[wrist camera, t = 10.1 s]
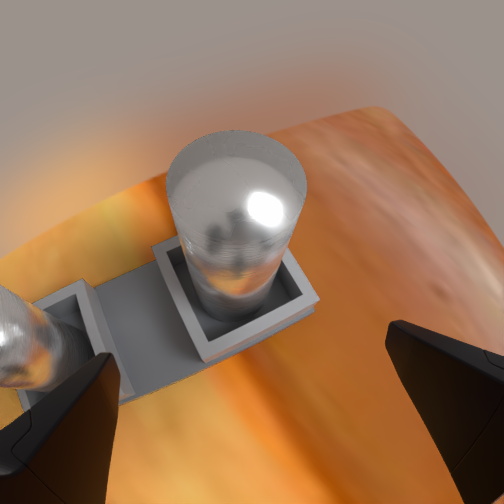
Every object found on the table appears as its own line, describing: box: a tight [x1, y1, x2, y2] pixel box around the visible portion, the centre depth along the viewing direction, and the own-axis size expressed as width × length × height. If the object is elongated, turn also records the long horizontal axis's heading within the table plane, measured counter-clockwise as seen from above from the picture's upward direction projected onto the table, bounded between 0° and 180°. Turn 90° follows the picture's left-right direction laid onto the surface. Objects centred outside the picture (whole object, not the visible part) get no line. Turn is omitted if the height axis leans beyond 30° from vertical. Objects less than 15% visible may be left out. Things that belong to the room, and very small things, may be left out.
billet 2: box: [166, 130, 307, 322], centre depth 16 cm, size 5×5×12 cm
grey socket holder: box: [17, 235, 320, 412], centre depth 19 cm, size 22×9×4 cm, turn 118°
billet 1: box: [0, 285, 95, 392], centre depth 12 cm, size 5×5×12 cm
